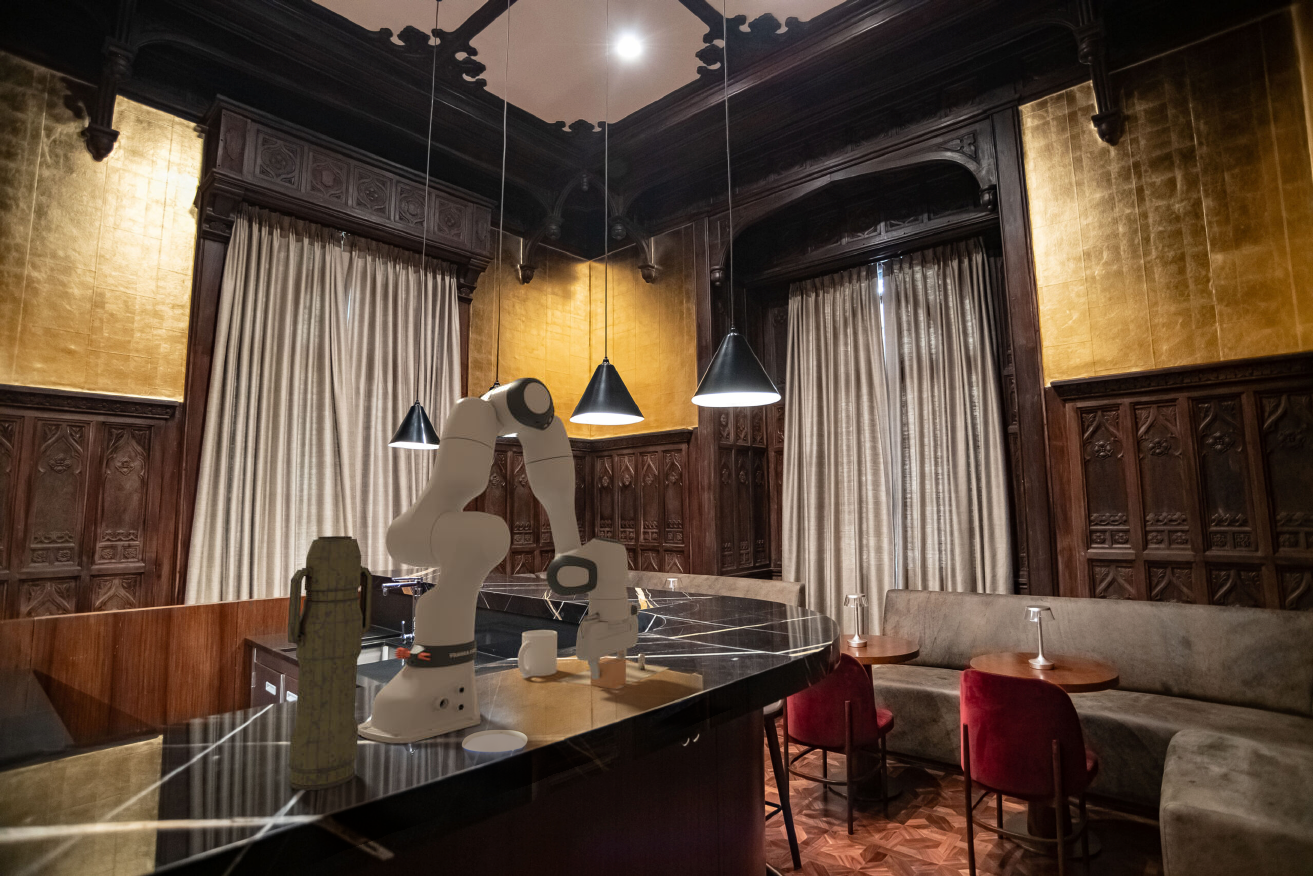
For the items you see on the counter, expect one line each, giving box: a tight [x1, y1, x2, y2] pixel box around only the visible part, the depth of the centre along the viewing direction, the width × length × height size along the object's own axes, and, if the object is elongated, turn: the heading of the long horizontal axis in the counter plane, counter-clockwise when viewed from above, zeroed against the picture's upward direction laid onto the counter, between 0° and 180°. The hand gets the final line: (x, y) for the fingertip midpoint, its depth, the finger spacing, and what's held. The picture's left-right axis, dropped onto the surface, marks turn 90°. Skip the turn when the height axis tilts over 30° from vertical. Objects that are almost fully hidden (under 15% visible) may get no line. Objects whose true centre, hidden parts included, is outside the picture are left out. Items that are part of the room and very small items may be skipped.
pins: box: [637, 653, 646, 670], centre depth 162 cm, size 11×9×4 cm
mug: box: [517, 629, 558, 679], centre depth 160 cm, size 12×8×10 cm
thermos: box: [287, 535, 374, 791], centre depth 101 cm, size 9×12×35 cm
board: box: [556, 661, 670, 691], centre depth 159 cm, size 24×16×1 cm, turn 150°
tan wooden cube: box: [591, 656, 627, 689], centre depth 150 cm, size 6×6×5 cm
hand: (607, 674), depth 150 cm, fingers open, 8 cm apart
